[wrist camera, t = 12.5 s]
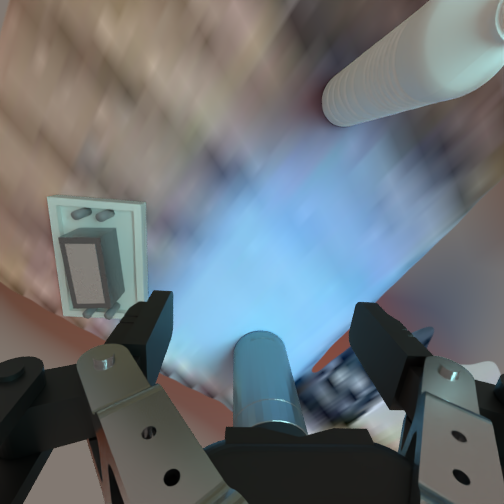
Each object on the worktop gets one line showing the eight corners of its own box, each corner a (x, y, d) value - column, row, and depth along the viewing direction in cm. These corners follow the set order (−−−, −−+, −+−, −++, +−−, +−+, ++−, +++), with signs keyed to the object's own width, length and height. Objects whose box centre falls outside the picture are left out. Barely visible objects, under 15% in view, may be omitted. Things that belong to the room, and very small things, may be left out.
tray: (148, 312, 45) (140, 327, 41) (71, 308, 44) (55, 323, 40) (145, 202, 40) (135, 207, 36) (56, 194, 39) (36, 198, 35)
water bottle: (310, 99, 37) (449, -5, 13) (349, 60, 35) (581, -134, 12) (350, 150, 39) (528, 141, 15) (387, 115, 38) (643, 46, 14)
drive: (125, 291, 43) (111, 308, 38) (91, 291, 42) (72, 308, 37) (116, 227, 39) (99, 237, 35) (79, 227, 39) (57, 237, 34)
